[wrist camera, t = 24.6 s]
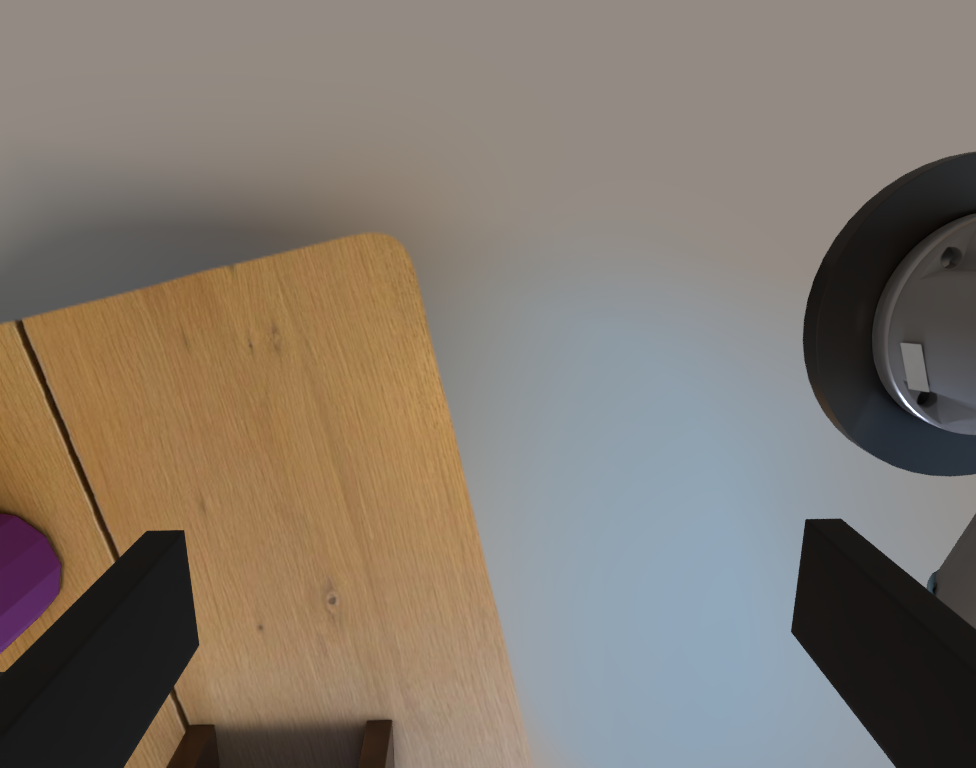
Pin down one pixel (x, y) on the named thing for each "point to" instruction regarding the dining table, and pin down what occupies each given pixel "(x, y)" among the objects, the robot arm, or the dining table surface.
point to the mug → (24, 577)
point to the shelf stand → (200, 763)
